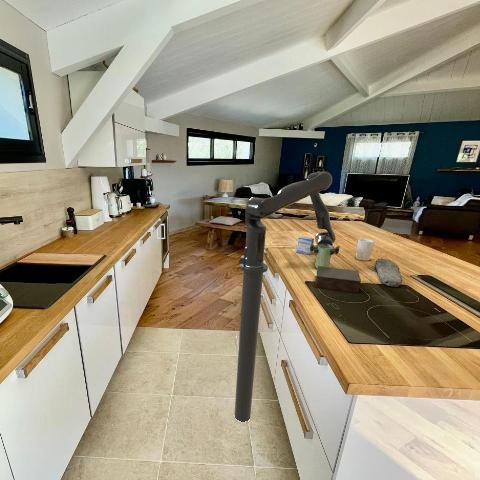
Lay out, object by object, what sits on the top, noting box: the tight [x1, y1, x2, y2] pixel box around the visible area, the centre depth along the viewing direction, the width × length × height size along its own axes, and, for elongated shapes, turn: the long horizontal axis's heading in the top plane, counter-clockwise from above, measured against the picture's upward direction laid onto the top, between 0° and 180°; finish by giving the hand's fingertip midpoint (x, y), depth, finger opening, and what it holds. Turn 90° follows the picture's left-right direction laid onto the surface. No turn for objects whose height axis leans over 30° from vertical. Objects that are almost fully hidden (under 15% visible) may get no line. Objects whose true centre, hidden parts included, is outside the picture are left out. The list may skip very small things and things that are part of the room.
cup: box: [314, 246, 332, 269], centre depth 150 cm, size 6×6×10 cm
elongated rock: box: [374, 257, 403, 288], centre depth 142 cm, size 35×5×10 cm
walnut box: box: [314, 266, 362, 294], centre depth 131 cm, size 16×14×5 cm
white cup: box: [355, 238, 376, 262], centre depth 165 cm, size 8×8×10 cm
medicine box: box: [295, 236, 315, 256], centre depth 177 cm, size 8×4×9 cm, turn 55°
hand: (324, 252), depth 147 cm, fingers closed on cup, 6 cm apart
